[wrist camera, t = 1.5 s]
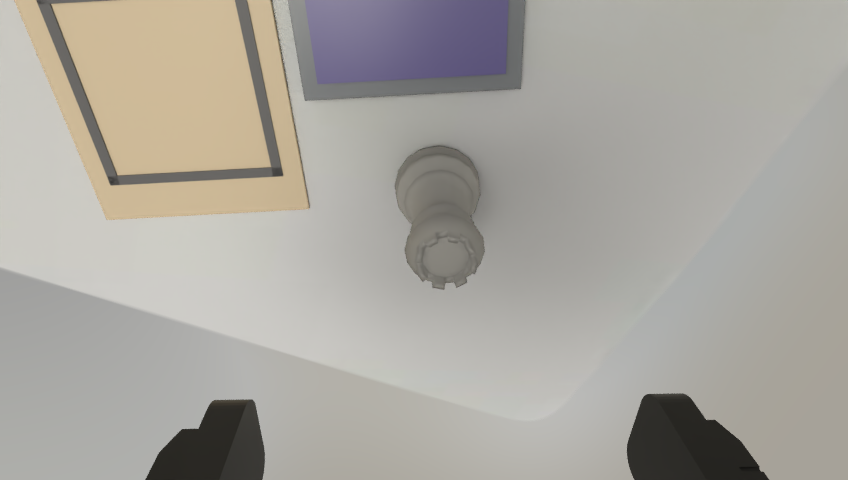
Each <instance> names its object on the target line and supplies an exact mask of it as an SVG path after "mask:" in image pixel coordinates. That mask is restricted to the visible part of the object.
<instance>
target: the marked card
mask: <svg viewBox="0 0 848 480" xmlns="http://www.w3.org/2000/svg"><path fill="white" fill-rule="evenodd" d="M14 1H15V3H16V5H17V8H18V10H19V13H20V15H21V17H22V20H23V22H24V24H25V27H26V29H27V32H28V34H29V36H30V39H31V41H32V43H33V46H34V48H35V51H36V53H37V55H38V58H39V60H40V62H41V65H42V67H43V69H44V72H45V74H46V77H47V79H48V81H49V84H50V86H51V88H52V91H53V93H54V96H55V98H56V100H57V103H58V105H59V107H60V110H61V112H62V115H63V117H64V119H65V122H66V124H67V126H68V129H69V131H70V134H71V136H72V138H73V141H74V143H75V145H76V148H77V150H78V153H79V155H80V157H81V160H82V162H83V164H84V167H85V169H86V172H87V174H88V176H89V179H90V181H91V183H92V186H93V188H94V191H95V193H96V195H97V198H98V200H99V202H100V205H101V207H102V210H103V212H104V214H105V217H106V219H107V220H115V219H133V218H152V217H170V216H189V215H207V214H226V213H244V212H263V211H281V210H300V209H309V202H308V196H307V191H306V186H305V180H304V175H303V169H302V164H301V158H300V153H299V148H298V142H297V137H296V131H295V126H294V120H293V115H292V110H291V104H290V99H289V93H288V88H287V82H286V77H285V71H284V66H283V61H282V55H281V50H280V44H279V39H278V33H277V28H276V23H275V17H274V12H273V6H272V1H271V0H14Z"/></svg>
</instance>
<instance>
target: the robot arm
mask: <svg viewBox="0 0 848 480" xmlns="http://www.w3.org/2000/svg"><path fill="white" fill-rule="evenodd" d="M627 456H628V463H629V467H630V470H631V473H632V475H633V478H634V479H635V480H769V479H768V478H767V476H766V475H765V473H764V472H761V471H760V470H759V466H758V464H757V463H756V461H755V460H754V459H753V457H752V456H751V455H750V453H749V452H748V450H747V449H746V448H745V446H744V445H743V444H742V442H741V441H740V440H739V439H737V438H736V437H735V436H734V435H733V434H731V433H730V432H729V431H728V430H726V429H725V428H724V427H723V426H722V425H720V424H719V423H718V422H717V421H716V420H706V419H705V418H704V416H703V415H702V414H701V412H700V411H699V409H698V408H697V407H696V405H695V404H694V402H693V401H692V399H691V398H690V397H689V396H687V395H685V394H647V395H645V396H644V397H643V399H642V401H641V404H640V407H639V410H638V413H637V416H636V419H635V422H634V425H633V428H632V431H631V434H630V437H629V440H628V444H627ZM264 463H265V452H264V445H263V441H262V436H261V430H260V425H259V421H258V415H257V410H256V406H255V402H254V401H253V400H214V401H212V403H211V404H210V405H209V407H208V409H207V411H206V413H205V415H204V418H203V420H202V422H201V424H200V427H199V429H182V430H181V431H180V432H179V433H178V434H177V435H176V436H175V437H174V438H173V439H172V440H171V441H170V442H169V443H168V444H167V445H166V446H165V447H164V448H163V449H162V450H161V451H160V452H159V454H158V456H157V458H156V460H155V462H154V464H153V466H152V468H151V470H150V472H149V474H148V476H147V478H146V480H262V479H263V473H264Z"/></svg>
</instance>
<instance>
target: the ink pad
mask: <svg viewBox="0 0 848 480" xmlns="http://www.w3.org/2000/svg"><path fill="white" fill-rule="evenodd" d="M288 4H289V10H290V16H291V22H292V28H293V34H294V40H295V45H296V51H297V57H298V63H299V69H300V75H301V81H302V87H303V93H304V99H305V101H307V100H326V99H344V98H362V97H380V96H399V95H417V94H435V93H453V92H472V91H490V90H508V89H521V73H522V53H523V33H524V13H525V0H288Z"/></svg>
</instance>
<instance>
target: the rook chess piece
mask: <svg viewBox="0 0 848 480" xmlns="http://www.w3.org/2000/svg"><path fill="white" fill-rule="evenodd" d="M395 189H396V197H397V201H398V206H399V209H400V210H401V211H402V213H403V214H404V216H405V217H406V218H407V220H408V221H409V222H410V223H412V227H411V231H410V235H409V236H408V238H407V242H406V246H405V254H406V259H407V263H408V264H409V266H410V267H411V268H412V270H413V271H414V272H415V274H417V275H418V276H419V277H420V279H421V280H422V281H424V280H427V281H431V282H432V286H433V288H438V289H443V290H444V288H445V283H451V282H454V283H455V286H456V288H457V287H459V286H461V285H463V284H465V283H467V279H466V277H467V276H469V275H471V274H472V273H473V274H475V272H476V269H477V267H478V266H479V265H480V264H481V261H482V258H483V255H484V252H485V249H484V241H483V237H482V235H481V234H480V232H479V231H478V229H477V228H476V226H475V225H474V222H473V221H472V219H471V218H470V217H471V215H472V214H473V213H474V212H475V209H476V206H477V203H478V200H479V197H480V189H479V180H478V172H477V171H476V169H475V167H474V166H473V164H472V162H471V161H470V159H469V158H467V157H466V156H464V155H463V154H462V153H460V152H459V151H457V150H455V149H451V148H446V147H442V146H436V147H430V148H424V149H421V150H420V151H418V152H416V153H415V154H413V155H411V156H410V157H408V158H407V159H406V161H405V162H404V163H403V165H402V166H401V168H400V169H399V170H398V174H397V178H396V183H395Z"/></svg>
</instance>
